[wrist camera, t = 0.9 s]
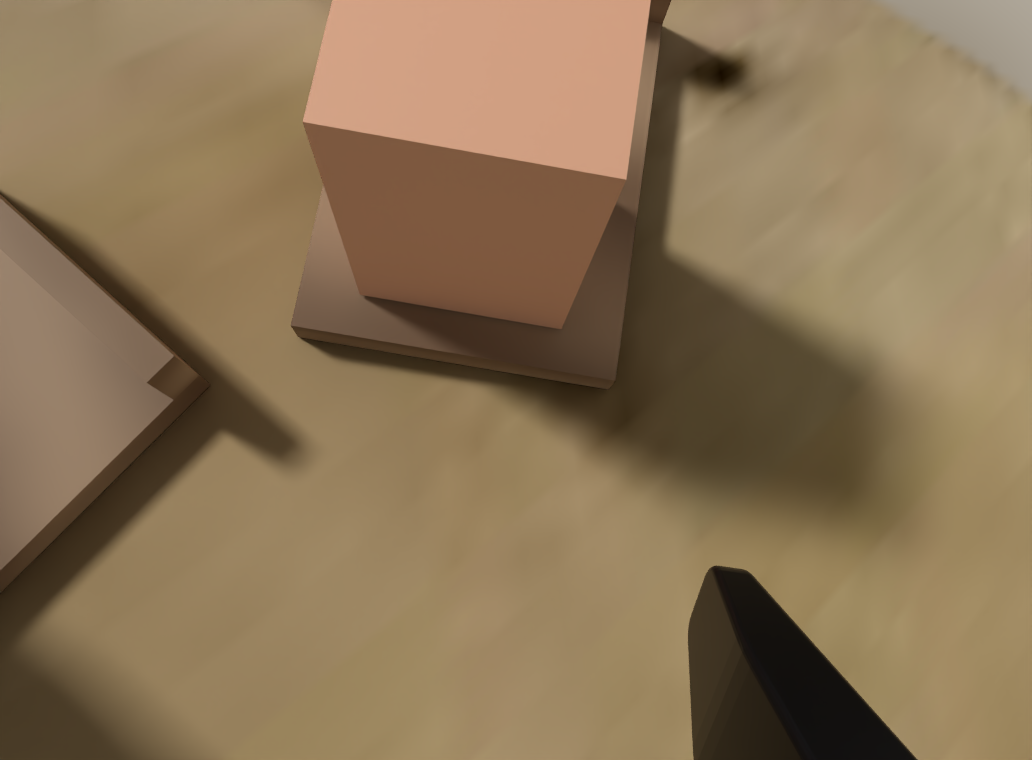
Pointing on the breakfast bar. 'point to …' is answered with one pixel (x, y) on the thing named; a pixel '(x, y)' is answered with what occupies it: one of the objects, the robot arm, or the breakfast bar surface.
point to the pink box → (476, 145)
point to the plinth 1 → (70, 390)
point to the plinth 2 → (479, 339)
